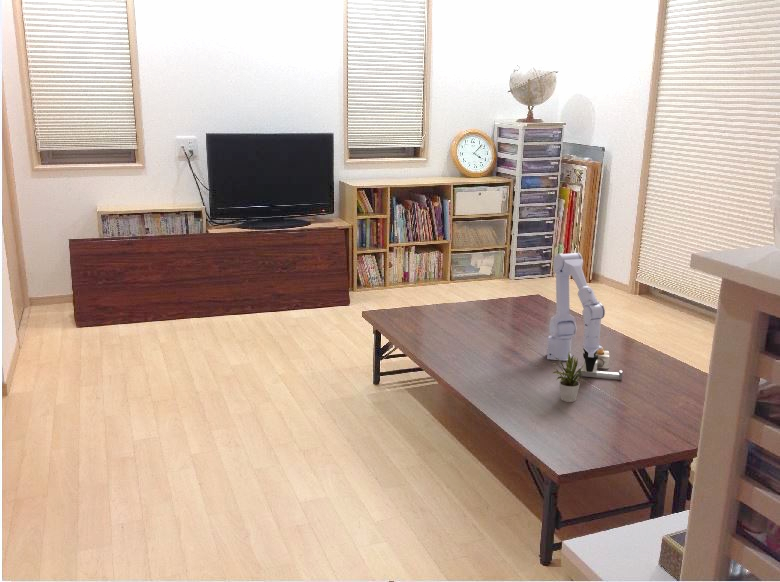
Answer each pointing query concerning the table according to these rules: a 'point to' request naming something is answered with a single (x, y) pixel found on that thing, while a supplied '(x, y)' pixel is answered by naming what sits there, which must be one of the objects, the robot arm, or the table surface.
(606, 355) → the cream cage with ball
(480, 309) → the table surface
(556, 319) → the robot arm
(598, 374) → the rail
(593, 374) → the block
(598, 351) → the plunger
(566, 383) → the house plant
